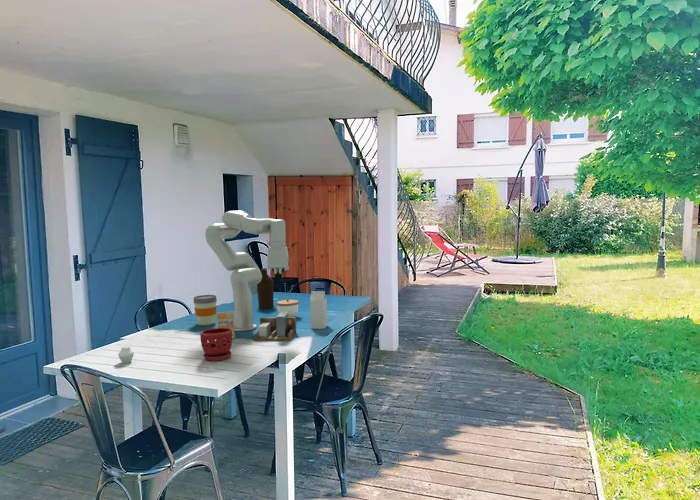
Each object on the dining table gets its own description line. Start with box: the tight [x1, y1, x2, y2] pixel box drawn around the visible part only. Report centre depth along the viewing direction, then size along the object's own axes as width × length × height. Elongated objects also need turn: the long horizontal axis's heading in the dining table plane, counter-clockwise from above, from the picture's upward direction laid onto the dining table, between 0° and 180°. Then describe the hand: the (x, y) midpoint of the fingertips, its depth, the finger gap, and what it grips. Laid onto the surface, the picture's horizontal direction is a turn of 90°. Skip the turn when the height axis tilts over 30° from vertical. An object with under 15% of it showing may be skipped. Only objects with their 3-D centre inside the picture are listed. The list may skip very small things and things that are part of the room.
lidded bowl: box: [276, 297, 300, 317], centre depth 295 cm, size 13×13×11 cm
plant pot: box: [199, 327, 233, 362], centre depth 218 cm, size 13×13×12 cm
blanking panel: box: [275, 312, 289, 337], centre depth 250 cm, size 4×10×10 cm, turn 175°
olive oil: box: [256, 267, 275, 309], centre depth 327 cm, size 11×11×25 cm
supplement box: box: [216, 310, 236, 340], centre depth 251 cm, size 8×5×13 cm, turn 105°
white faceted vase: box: [117, 345, 135, 364], centre depth 217 cm, size 6×6×7 cm
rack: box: [253, 316, 297, 342], centre depth 251 cm, size 18×14×8 cm
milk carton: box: [309, 290, 329, 330], centre depth 266 cm, size 7×7×19 cm
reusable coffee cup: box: [193, 294, 217, 326], centre depth 287 cm, size 13×13×15 cm
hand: (278, 281), depth 254 cm, fingers closed
